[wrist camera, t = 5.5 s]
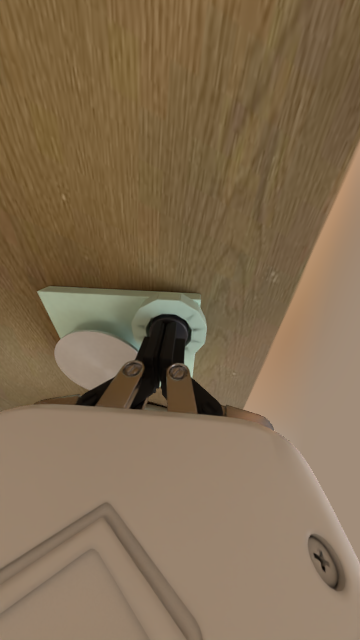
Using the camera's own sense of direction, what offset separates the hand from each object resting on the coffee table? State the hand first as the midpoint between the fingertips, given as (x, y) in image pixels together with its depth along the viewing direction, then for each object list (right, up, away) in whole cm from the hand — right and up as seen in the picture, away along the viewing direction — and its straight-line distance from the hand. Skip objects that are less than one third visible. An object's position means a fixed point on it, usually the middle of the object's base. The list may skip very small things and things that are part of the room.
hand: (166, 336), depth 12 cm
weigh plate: (-6, -3, +3) cm, 8 cm away
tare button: (0, +1, +1) cm, 2 cm away
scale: (-4, -1, +5) cm, 6 cm away
